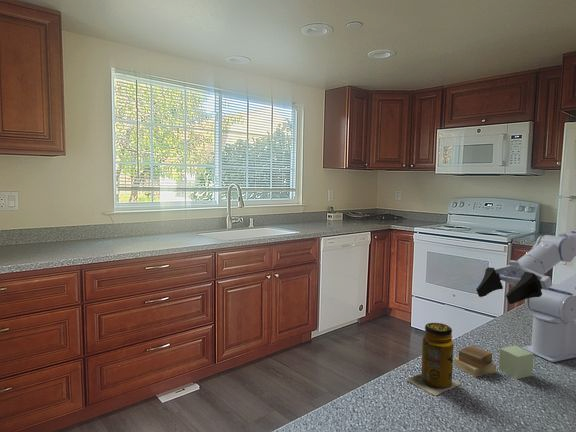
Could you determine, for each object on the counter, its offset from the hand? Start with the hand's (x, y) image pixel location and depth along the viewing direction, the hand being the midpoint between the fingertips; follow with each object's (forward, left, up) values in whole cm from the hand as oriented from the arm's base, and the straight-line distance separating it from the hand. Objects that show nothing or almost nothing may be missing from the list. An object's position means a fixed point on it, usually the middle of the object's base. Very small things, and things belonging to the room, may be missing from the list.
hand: (493, 296), depth 86 cm
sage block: (-4, +3, -17) cm, 18 cm away
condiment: (+16, 0, -17) cm, 23 cm away
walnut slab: (+3, -2, -15) cm, 16 cm away
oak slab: (+3, -2, -17) cm, 18 cm away
